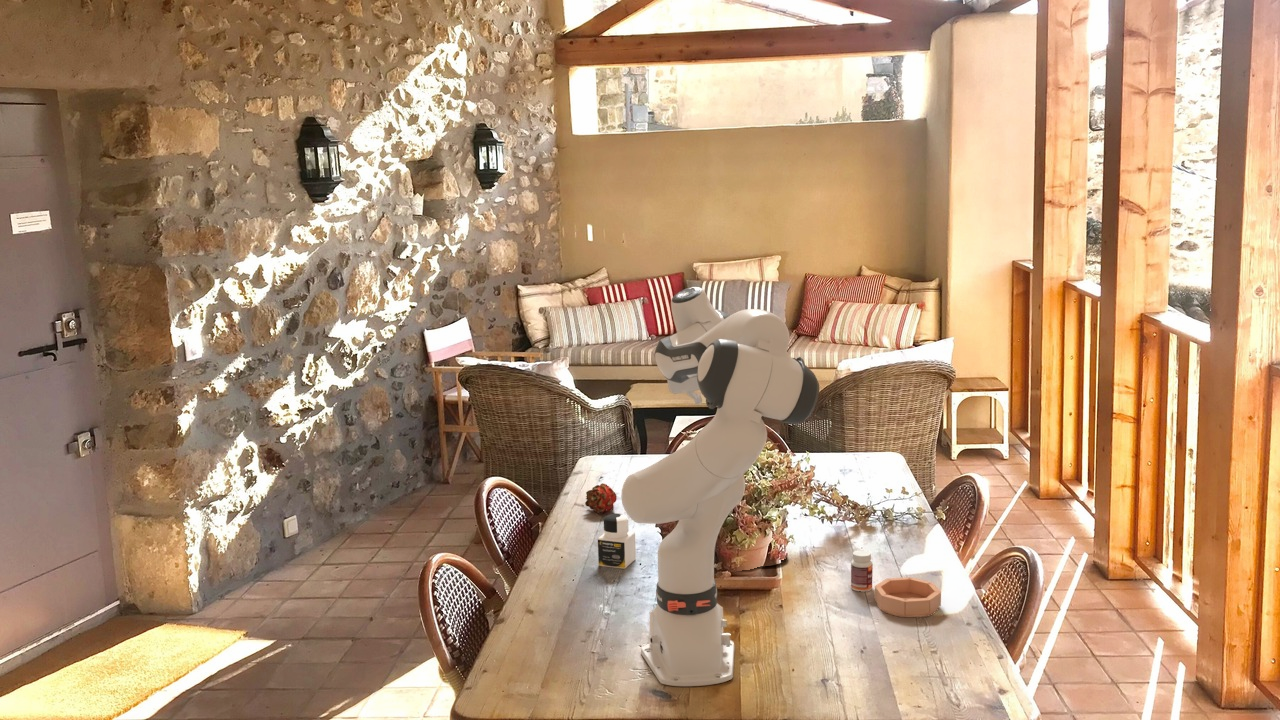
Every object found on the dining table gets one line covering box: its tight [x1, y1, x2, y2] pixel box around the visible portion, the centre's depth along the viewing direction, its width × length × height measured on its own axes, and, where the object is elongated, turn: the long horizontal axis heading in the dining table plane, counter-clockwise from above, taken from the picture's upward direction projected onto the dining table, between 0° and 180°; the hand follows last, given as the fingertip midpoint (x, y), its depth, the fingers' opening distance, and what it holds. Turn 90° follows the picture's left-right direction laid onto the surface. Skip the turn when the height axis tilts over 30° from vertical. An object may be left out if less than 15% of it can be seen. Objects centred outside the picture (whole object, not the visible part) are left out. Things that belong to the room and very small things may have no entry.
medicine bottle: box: [597, 513, 637, 570], centre depth 268 cm, size 7×7×12 cm
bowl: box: [874, 576, 942, 618], centre depth 238 cm, size 13×13×4 cm
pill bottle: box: [850, 550, 874, 593], centre depth 248 cm, size 5×5×8 cm
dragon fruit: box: [584, 482, 618, 515], centre depth 309 cm, size 8×8×12 cm
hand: (718, 398), depth 250 cm, fingers open, 8 cm apart
